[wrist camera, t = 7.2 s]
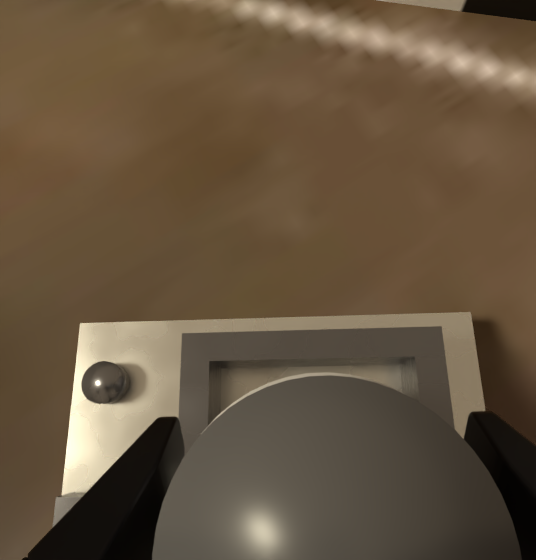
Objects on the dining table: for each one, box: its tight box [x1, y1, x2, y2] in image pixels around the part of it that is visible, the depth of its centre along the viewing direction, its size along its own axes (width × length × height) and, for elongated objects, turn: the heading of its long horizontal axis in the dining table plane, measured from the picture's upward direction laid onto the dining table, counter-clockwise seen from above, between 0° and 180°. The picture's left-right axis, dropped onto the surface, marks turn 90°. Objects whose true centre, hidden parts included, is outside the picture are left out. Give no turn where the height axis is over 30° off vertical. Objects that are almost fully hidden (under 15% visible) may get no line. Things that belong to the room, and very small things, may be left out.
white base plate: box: [53, 312, 485, 527], centre depth 16 cm, size 11×16×4 cm
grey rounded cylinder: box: [152, 372, 522, 560], centre depth 11 cm, size 5×5×11 cm
